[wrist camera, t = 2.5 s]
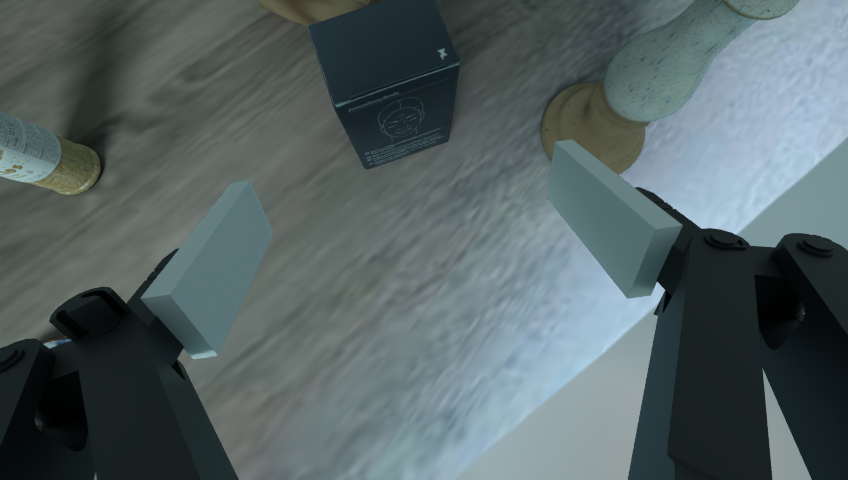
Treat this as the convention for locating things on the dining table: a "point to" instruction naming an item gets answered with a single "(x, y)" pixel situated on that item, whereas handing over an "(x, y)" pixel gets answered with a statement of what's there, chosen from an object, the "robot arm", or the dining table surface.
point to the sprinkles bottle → (45, 158)
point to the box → (389, 77)
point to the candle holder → (649, 80)
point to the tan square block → (313, 8)
